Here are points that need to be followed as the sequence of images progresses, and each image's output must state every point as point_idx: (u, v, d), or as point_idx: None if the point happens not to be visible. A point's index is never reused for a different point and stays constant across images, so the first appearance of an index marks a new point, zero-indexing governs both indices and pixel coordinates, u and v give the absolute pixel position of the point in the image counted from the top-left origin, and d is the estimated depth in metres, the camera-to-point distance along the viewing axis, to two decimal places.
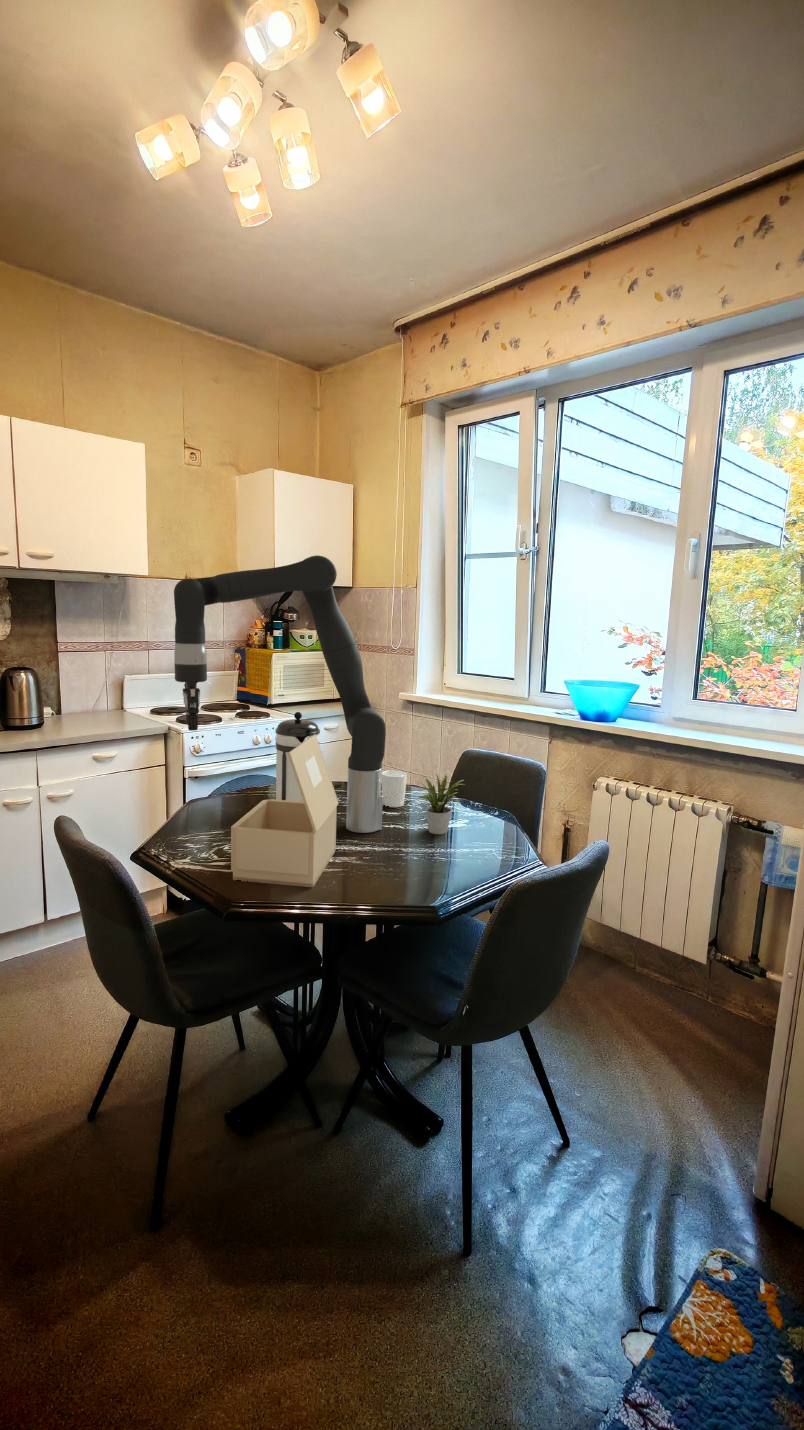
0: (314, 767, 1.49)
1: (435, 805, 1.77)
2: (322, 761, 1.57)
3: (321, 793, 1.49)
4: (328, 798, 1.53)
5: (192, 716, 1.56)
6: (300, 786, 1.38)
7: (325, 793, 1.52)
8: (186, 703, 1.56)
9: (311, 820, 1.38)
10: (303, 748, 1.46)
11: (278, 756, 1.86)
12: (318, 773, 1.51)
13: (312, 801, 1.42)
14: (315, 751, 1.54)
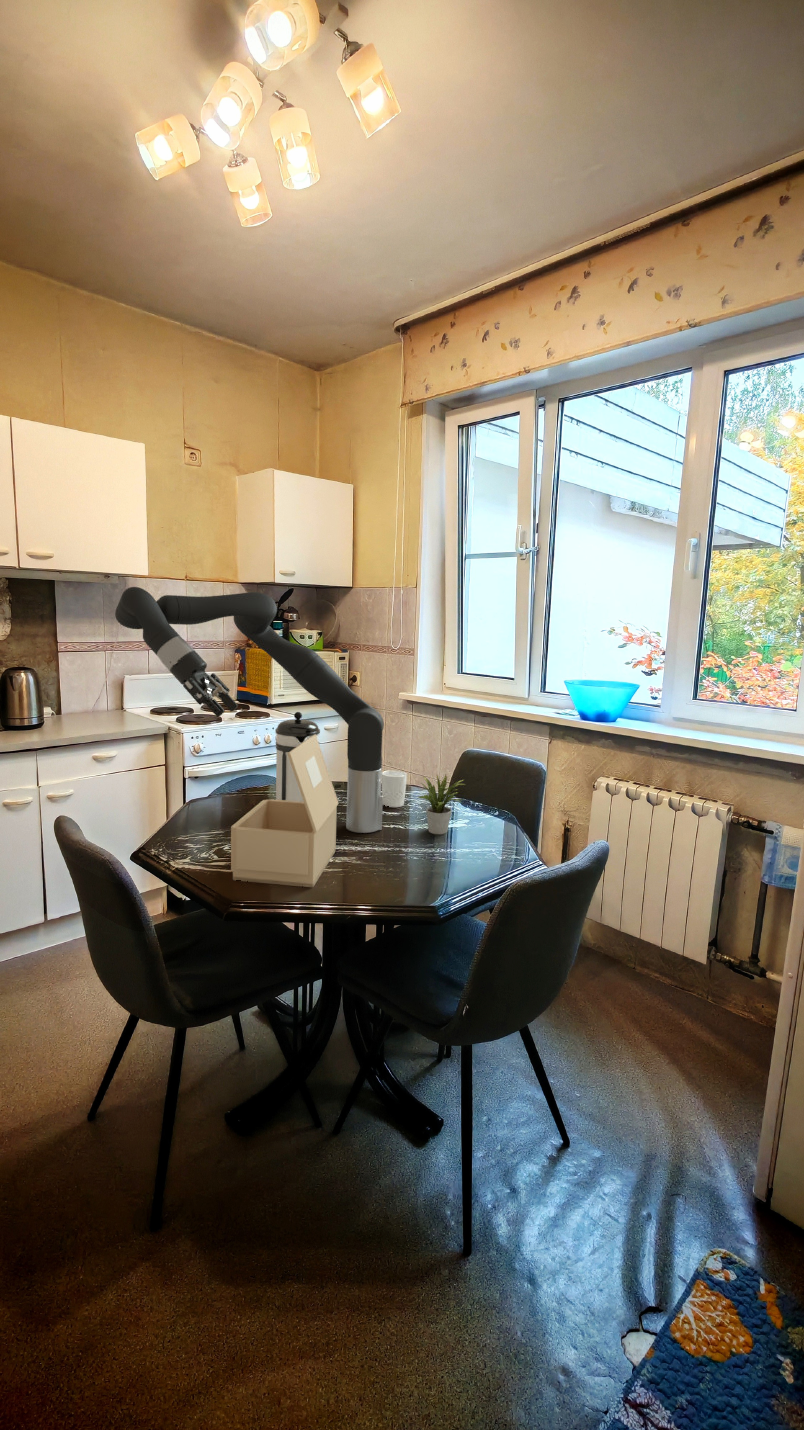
0: (314, 767, 1.49)
1: (435, 805, 1.77)
2: (322, 761, 1.57)
3: (321, 793, 1.49)
4: (328, 798, 1.53)
5: None
6: (300, 786, 1.38)
7: (325, 793, 1.52)
8: None
9: (311, 820, 1.38)
10: (303, 748, 1.46)
11: (278, 756, 1.86)
12: (318, 773, 1.51)
13: (312, 801, 1.42)
14: (315, 751, 1.54)
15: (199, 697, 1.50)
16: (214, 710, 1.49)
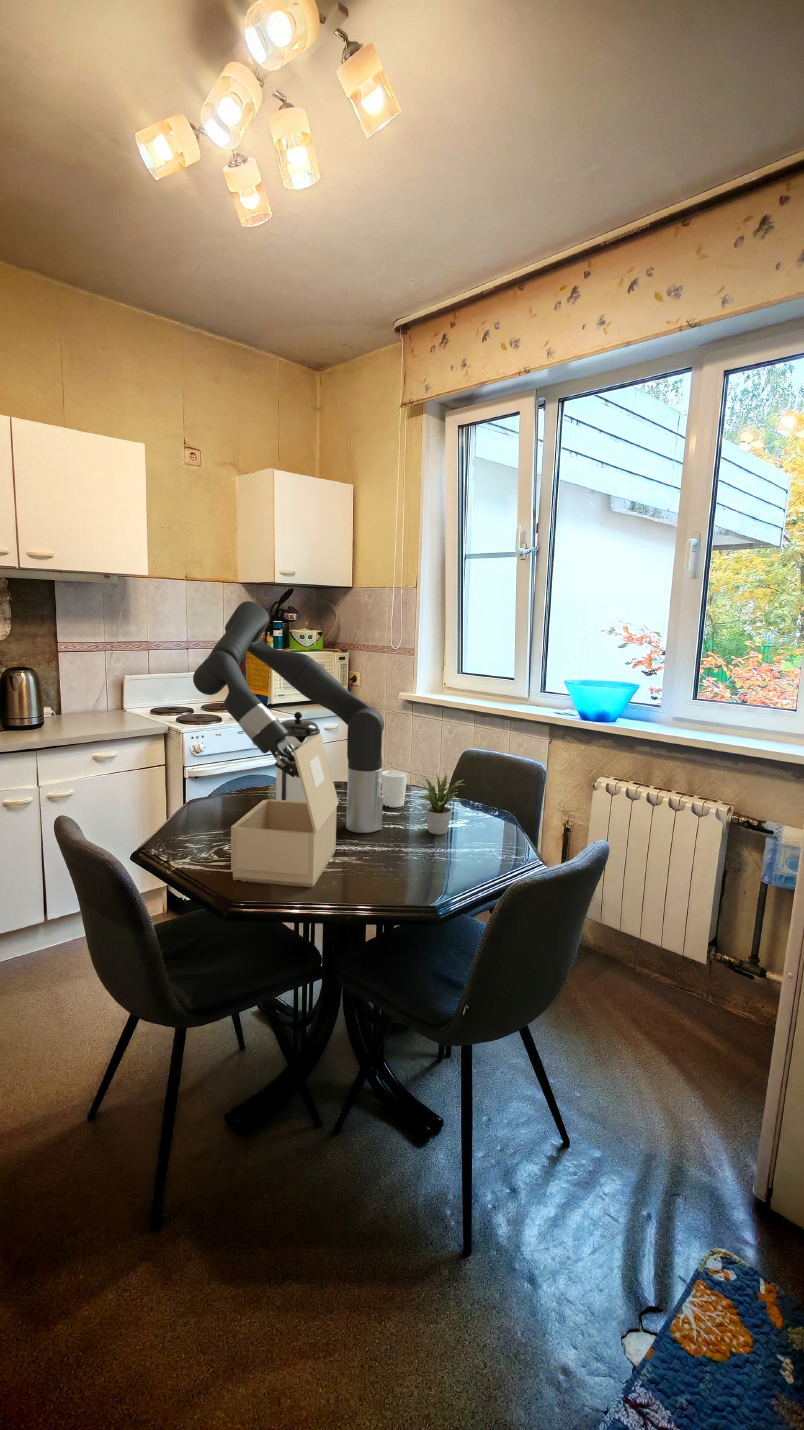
0: (317, 766, 1.49)
1: (435, 805, 1.77)
2: (325, 760, 1.57)
3: (323, 793, 1.49)
4: (329, 798, 1.53)
5: None
6: (303, 785, 1.38)
7: (326, 793, 1.52)
8: None
9: (312, 820, 1.38)
10: (308, 747, 1.46)
11: None
12: (321, 773, 1.51)
13: (314, 801, 1.42)
14: (319, 750, 1.54)
15: (289, 770, 1.47)
16: None
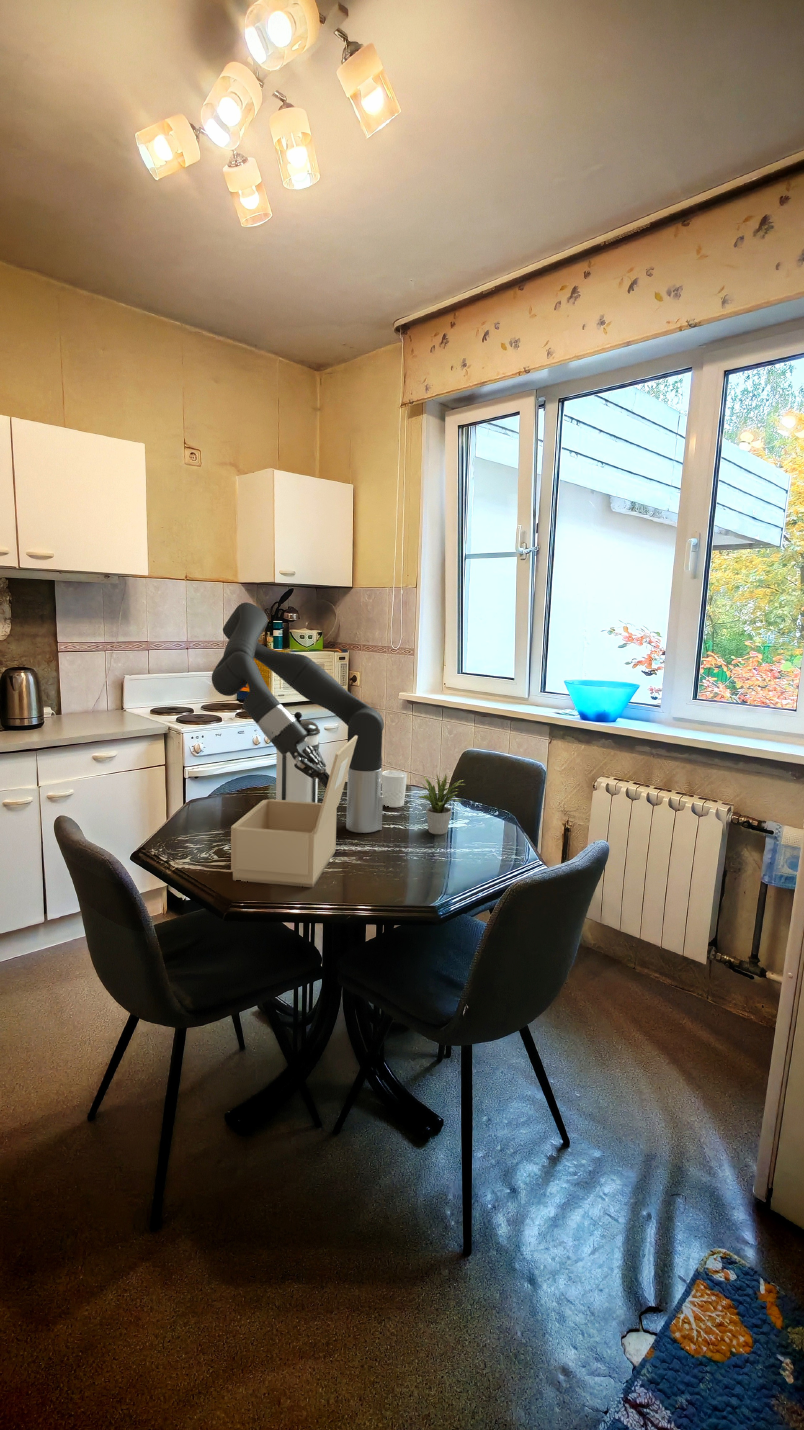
0: (343, 769, 1.49)
1: (435, 805, 1.77)
2: (349, 763, 1.56)
3: (335, 795, 1.49)
4: (336, 800, 1.53)
5: None
6: (328, 788, 1.37)
7: (337, 795, 1.52)
8: None
9: (318, 821, 1.38)
10: (346, 750, 1.45)
11: (278, 756, 1.86)
12: (342, 775, 1.50)
13: (327, 803, 1.41)
14: (350, 753, 1.53)
15: None
16: (325, 784, 1.46)
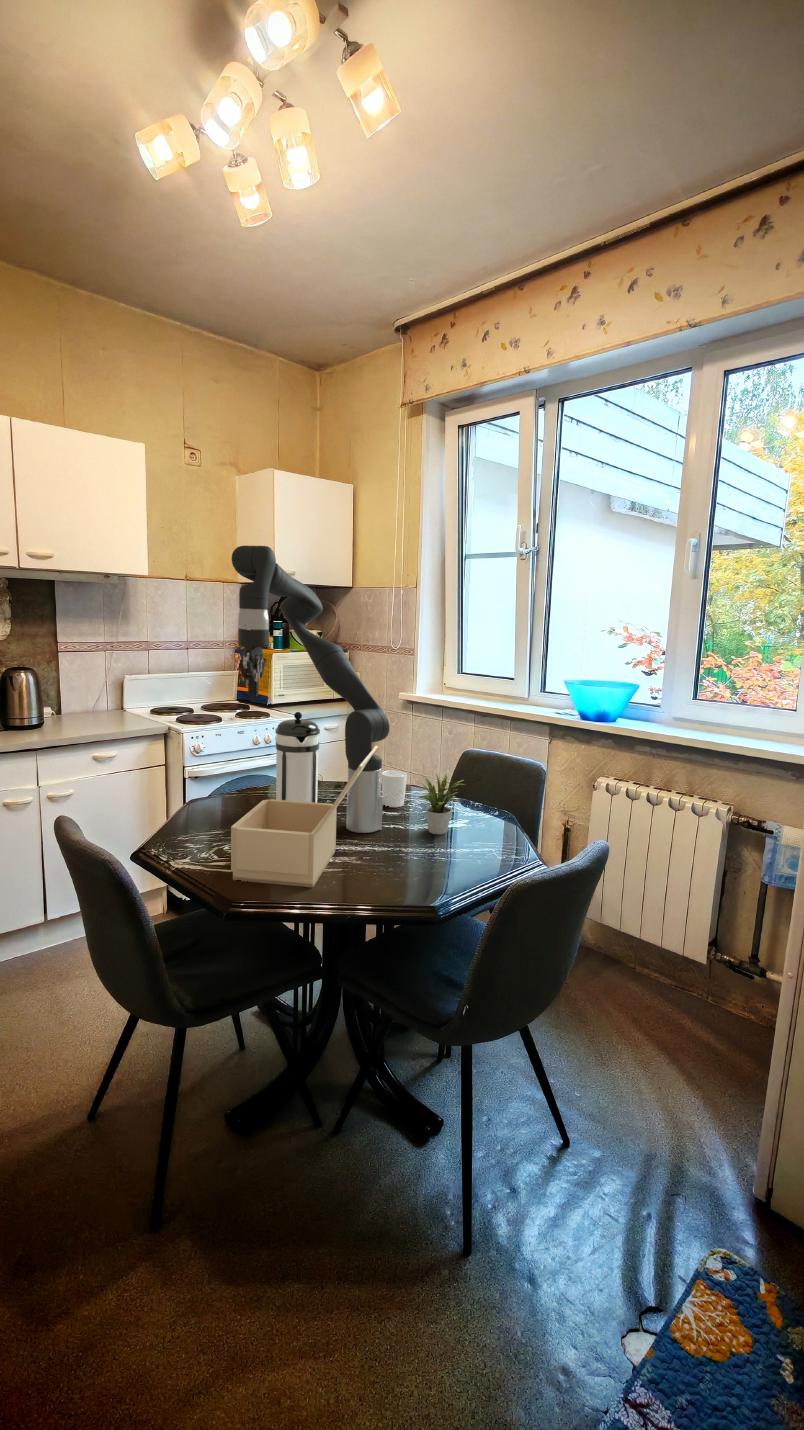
0: None
1: (435, 805, 1.77)
2: None
3: None
4: (339, 802, 1.53)
5: None
6: (341, 795, 1.37)
7: None
8: None
9: (322, 823, 1.38)
10: (366, 761, 1.45)
11: (278, 756, 1.86)
12: None
13: None
14: None
15: None
16: (250, 690, 1.64)
